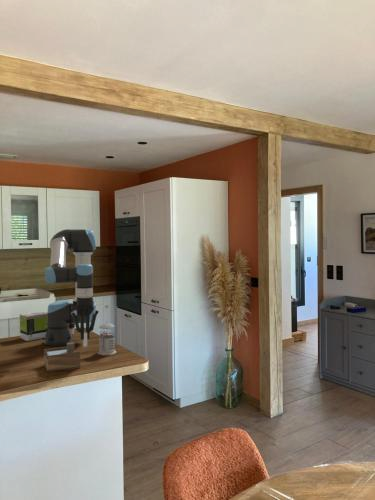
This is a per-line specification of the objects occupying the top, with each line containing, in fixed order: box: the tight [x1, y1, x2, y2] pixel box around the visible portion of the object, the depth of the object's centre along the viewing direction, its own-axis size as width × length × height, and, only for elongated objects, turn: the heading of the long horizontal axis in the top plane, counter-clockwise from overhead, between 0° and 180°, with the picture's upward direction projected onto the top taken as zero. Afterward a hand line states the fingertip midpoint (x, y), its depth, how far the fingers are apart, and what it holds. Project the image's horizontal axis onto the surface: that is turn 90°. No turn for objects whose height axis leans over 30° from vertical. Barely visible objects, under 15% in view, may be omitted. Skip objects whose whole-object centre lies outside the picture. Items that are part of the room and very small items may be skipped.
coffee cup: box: [69, 323, 76, 336], centre depth 256 cm, size 10×10×15 cm
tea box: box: [19, 310, 48, 342], centre depth 247 cm, size 15×10×15 cm
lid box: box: [43, 346, 81, 373], centre depth 192 cm, size 12×14×8 cm
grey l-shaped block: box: [47, 341, 76, 356], centre depth 192 cm, size 10×12×6 cm
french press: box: [97, 304, 117, 356], centre depth 215 cm, size 10×12×25 cm
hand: (85, 345), depth 197 cm, fingers closed
